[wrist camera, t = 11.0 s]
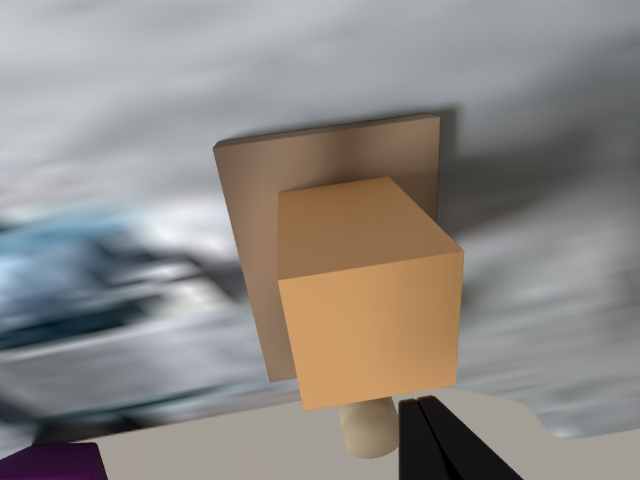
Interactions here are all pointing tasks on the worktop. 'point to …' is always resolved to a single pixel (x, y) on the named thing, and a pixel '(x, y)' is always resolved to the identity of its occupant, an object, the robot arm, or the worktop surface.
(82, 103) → the worktop surface
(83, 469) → the perfume bottle
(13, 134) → the worktop surface
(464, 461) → the robot arm
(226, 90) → the worktop surface
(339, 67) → the worktop surface
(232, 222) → the wooden holder
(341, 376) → the kraft paper carton
